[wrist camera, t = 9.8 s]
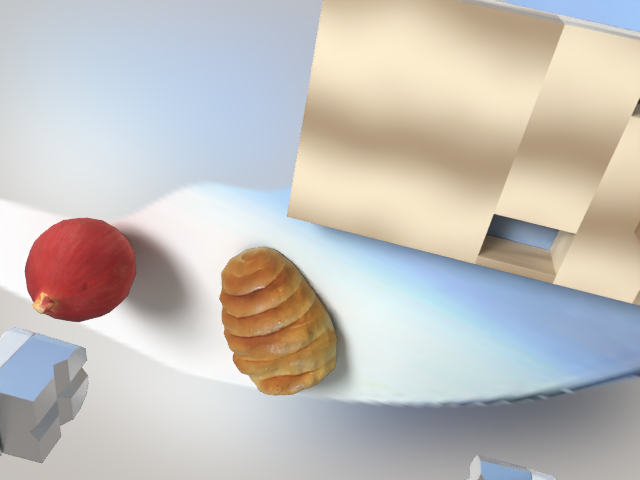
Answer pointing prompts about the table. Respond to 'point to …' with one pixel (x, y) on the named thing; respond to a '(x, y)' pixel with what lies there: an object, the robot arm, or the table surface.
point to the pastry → (275, 323)
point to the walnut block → (638, 231)
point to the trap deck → (477, 136)
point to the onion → (79, 270)
